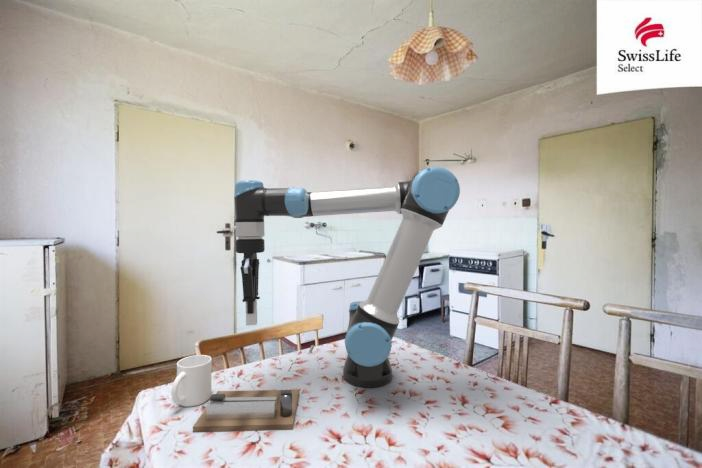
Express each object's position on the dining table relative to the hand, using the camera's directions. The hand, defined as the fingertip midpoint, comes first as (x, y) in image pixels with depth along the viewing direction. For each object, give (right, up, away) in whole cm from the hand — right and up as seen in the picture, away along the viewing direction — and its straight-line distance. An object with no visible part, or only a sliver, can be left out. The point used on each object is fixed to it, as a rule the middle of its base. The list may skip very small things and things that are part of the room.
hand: (251, 324), depth 90 cm
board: (+2, -19, -8) cm, 21 cm away
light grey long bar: (+1, -18, -11) cm, 21 cm away
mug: (-15, -19, -4) cm, 25 cm away
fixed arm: (+3, -18, -12) cm, 22 cm away
